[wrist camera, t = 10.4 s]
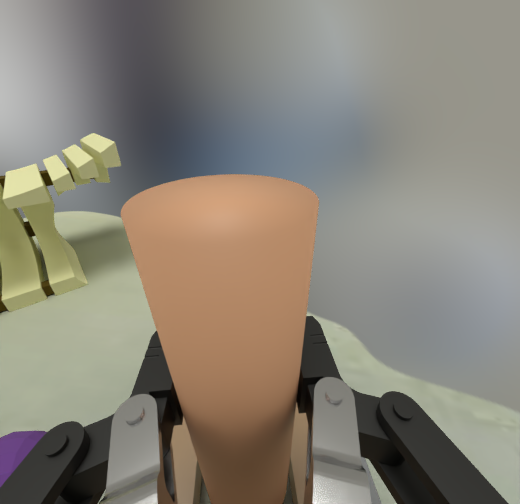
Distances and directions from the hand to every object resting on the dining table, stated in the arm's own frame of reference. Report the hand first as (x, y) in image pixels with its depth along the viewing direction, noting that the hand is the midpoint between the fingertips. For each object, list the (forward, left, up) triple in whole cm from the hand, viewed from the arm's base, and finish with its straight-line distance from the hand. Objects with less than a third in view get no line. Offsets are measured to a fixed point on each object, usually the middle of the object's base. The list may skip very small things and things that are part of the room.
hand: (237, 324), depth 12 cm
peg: (0, -3, -9) cm, 9 cm away
